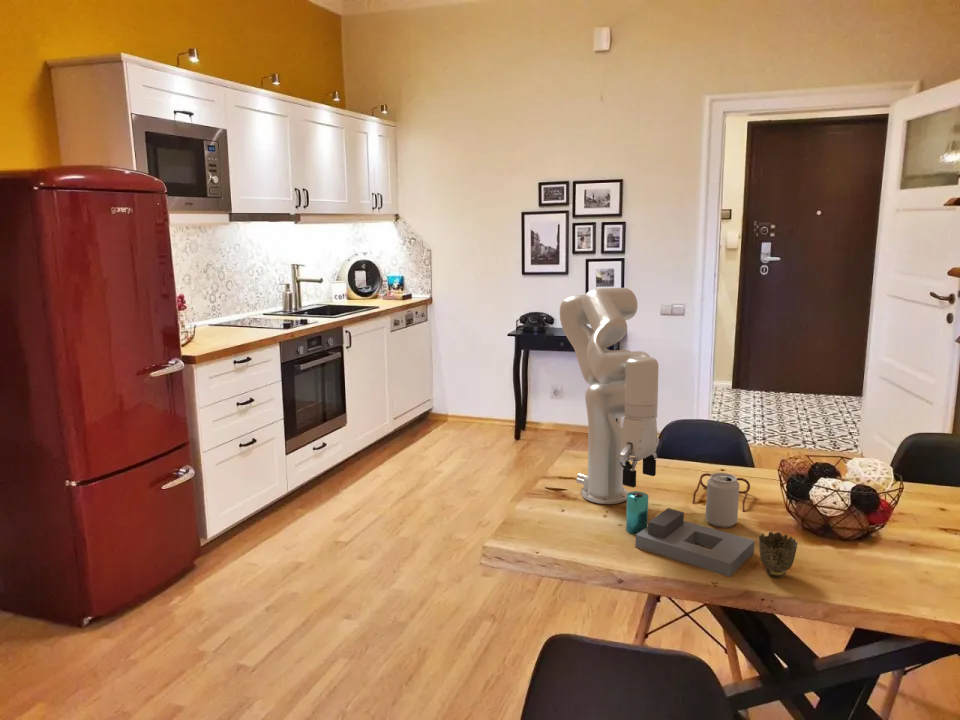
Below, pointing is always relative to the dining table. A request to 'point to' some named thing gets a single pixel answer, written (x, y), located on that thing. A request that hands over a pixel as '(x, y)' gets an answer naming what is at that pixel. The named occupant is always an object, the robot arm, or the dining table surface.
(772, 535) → the cup
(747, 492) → the glasses
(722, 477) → the can
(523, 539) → the dining table surface
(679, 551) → the plate
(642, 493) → the teal translucent cylinder
